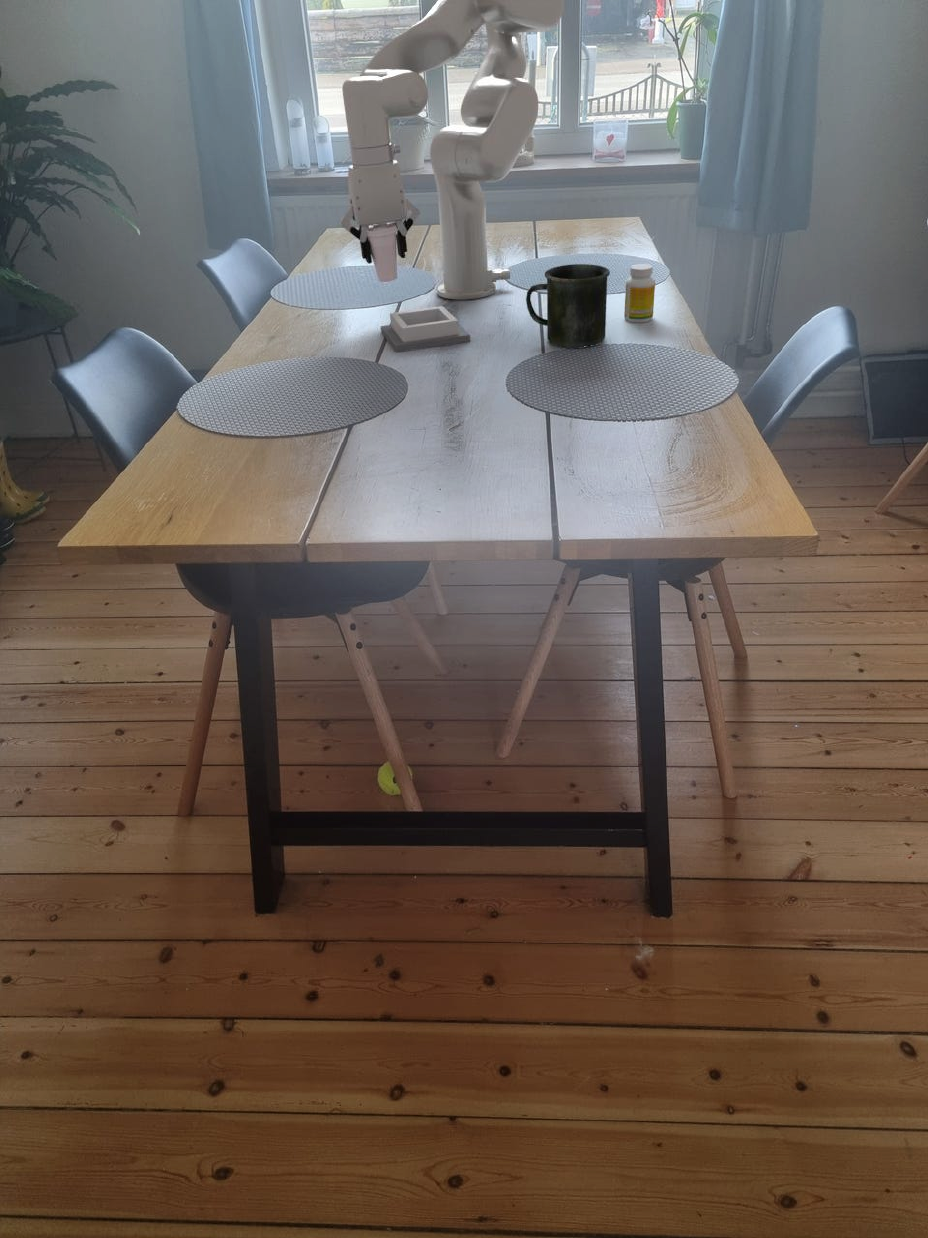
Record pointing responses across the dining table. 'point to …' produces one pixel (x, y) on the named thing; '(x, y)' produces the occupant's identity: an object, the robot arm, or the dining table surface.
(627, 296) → the supplement bottle
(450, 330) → the dock
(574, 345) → the mug
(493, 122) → the robot arm
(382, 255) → the smoothie
